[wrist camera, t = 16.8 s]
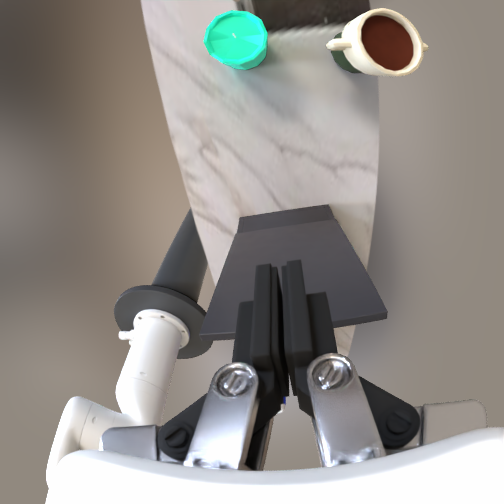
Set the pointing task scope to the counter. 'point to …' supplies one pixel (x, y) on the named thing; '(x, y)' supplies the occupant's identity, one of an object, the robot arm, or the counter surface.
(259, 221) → the open storage bin
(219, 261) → the counter surface
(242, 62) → the candle
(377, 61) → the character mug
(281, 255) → the lid
